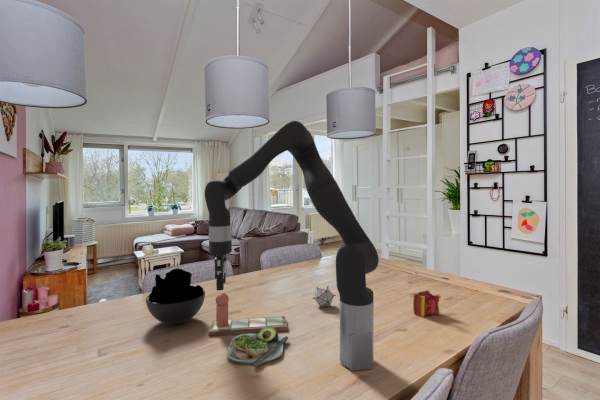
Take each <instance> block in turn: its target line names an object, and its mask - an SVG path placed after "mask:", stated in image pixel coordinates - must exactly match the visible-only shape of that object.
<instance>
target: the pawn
mask: <svg viewBox="0 0 600 400" xmlns="http://www.w3.org/2000/svg"><path fill="white" fill-rule="evenodd" d="M229 298H230V297H229V296H228V295H227V293H223V292H221V293H219V294H217V295H216V297H215V304H216V305H215V306H216V307H215V311H216V313H215V314H216V317H215V318H216V320H215V321H216V326H218V327H225V326H227V325H228V320H229V302H230V299H229Z"/></svg>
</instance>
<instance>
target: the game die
mask: <svg viewBox="0 0 600 400" xmlns="http://www.w3.org/2000/svg"><path fill="white" fill-rule="evenodd" d="M329 287H330V286H329V285H327V287H320V288H319V287H318V286H316V289H317V290H316V292H315V295H314V297H312V298H311V299H312V300H315V302H316V303H317V304H318V305H319V307H318V308H319V309H321V307H331V308H332V305H331V304H332V302H333V299H334V297H336V295H337V294H334V293H332V291H331V290H330V289H329Z"/></svg>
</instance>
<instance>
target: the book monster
mask: <svg viewBox="0 0 600 400" xmlns="http://www.w3.org/2000/svg"><path fill="white" fill-rule="evenodd" d="M441 298H442V295H441V294H439V293H438V294H433V293H431V290H429V289H426V290H424V291H418V292H414V293H413V302H412V303H413V305H412V306H413V308H412V309H413V313H414V314H415V315H416V316H418V317H421V318H424V317H425V316H430V315H431V316H432V315H437V316H441V315H442V313H441V311H440V308H439V302H440V300H441Z"/></svg>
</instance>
